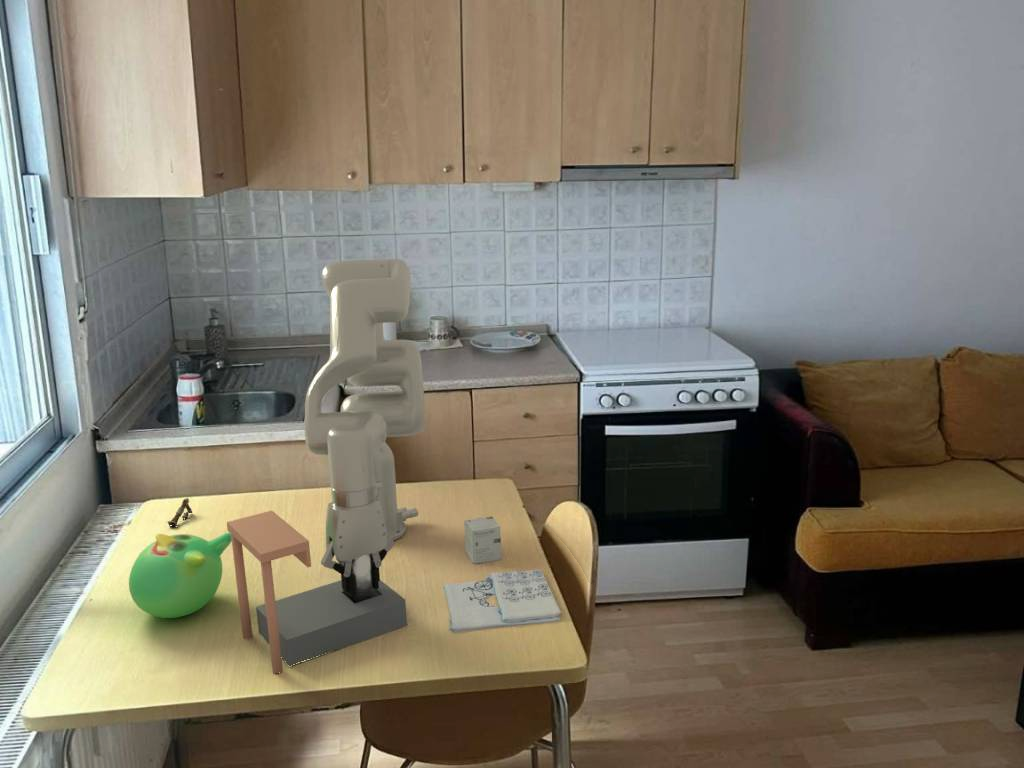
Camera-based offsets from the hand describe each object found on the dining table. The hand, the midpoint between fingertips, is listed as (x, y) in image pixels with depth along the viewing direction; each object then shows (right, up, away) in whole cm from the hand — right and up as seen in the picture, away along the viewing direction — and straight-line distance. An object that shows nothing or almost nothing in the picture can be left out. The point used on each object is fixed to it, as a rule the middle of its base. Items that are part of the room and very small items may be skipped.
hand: (361, 589), depth 169 cm
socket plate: (-5, -7, -2) cm, 8 cm away
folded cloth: (+24, -4, +6) cm, 26 cm away
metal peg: (0, -2, +1) cm, 2 cm away
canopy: (-13, -8, -7) cm, 17 cm away
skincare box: (+21, +1, +25) cm, 33 cm away
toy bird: (-34, -5, +7) cm, 35 cm away
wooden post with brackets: (-49, +5, +47) cm, 68 cm away
